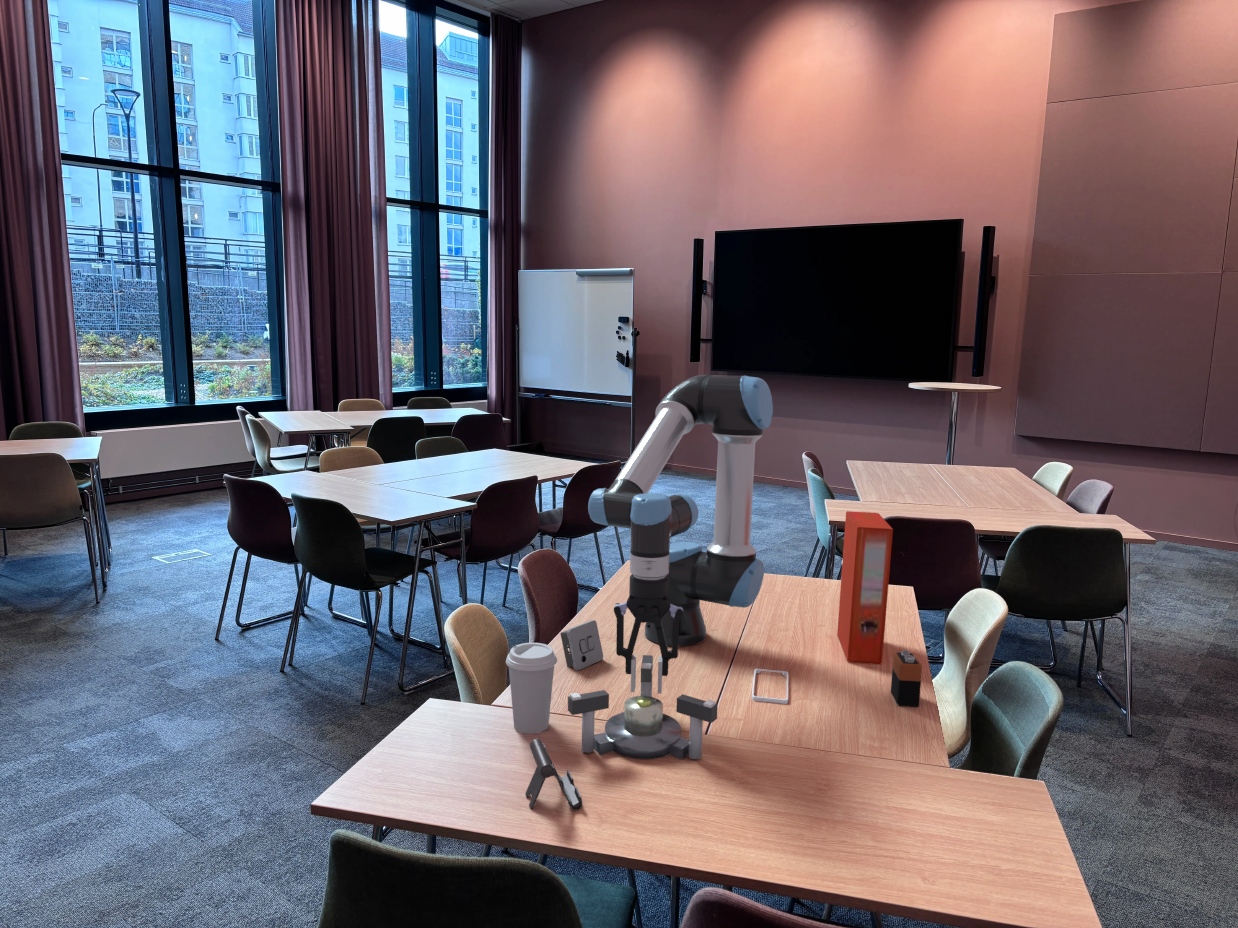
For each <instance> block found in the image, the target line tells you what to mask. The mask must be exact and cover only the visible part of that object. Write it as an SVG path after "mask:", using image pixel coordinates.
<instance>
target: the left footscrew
mask: <svg viewBox="0 0 1238 928" xmlns="http://www.w3.org/2000/svg"><path fill="white" fill-rule="evenodd" d="M675 710H676V713H679V714H681V715H684V716H687V717H689V738H688V740H689V755H688V757H689V758H690V759H692V760H699V759H701V758H702V752H703V751H702V749H703V748H702V747H703V746H702V745H703V726H704V725H703V723H704V722H703V721H705V722H707V723H710V724H712V723H714V722H715V721H716V720H718V704H717V701H715V700H712V699H707V700H703V699H699V698H698V697H697V698H696V697H693V696H690V695H686V694H683V693H681V695H679V696H678V697H676V709H675Z"/></svg>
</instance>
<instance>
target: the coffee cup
mask: <svg viewBox="0 0 1238 928" xmlns="http://www.w3.org/2000/svg"><path fill="white" fill-rule="evenodd" d="M556 655H557V654H556V653H555V652H554V650H553V648H552V647H551V646H550V645H548V644H546V643H540V642H525V643H524V642H523V643H519V644H516V645H514V646H513V647H511V648H510V650H509V653H507V656H506V660H505V664H506V666H508V674H509V686H510V695H511V706H512V707H511V708H512V719H513V727H514V729H515V731H516V732H519V733H521V734H526V735H532V734H534V735H535V734H540V733H543V732H544V731H546V730H547V729H548V728H549V724H550V712H551V705H552V704H551V701H552V691H553V681H554V674H555V673H554V671H555V665H556V664H557V663H558V659H557V656H556Z"/></svg>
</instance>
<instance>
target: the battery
mask: <svg viewBox="0 0 1238 928" xmlns="http://www.w3.org/2000/svg"><path fill="white" fill-rule="evenodd" d="M892 655H893V657H892V666H891V668H892V670H891V671H892V672H891V683H890V693H891V695H892V697H893V699H894V701H895V702H896V704H897V706H898V707H914V708H918V707H919V706H920V700H921V699H920V698H921V697H920V696H921V685H922V676H923V675H922V674H923V673H922V672H923V671H922V670H923V665H922V663H921V662H920V661H919V659H918V657H917V655H916V654H915V653H912V652H910V650H908V649H907V650H906V649H903V650H901V652H893V654H892Z"/></svg>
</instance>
